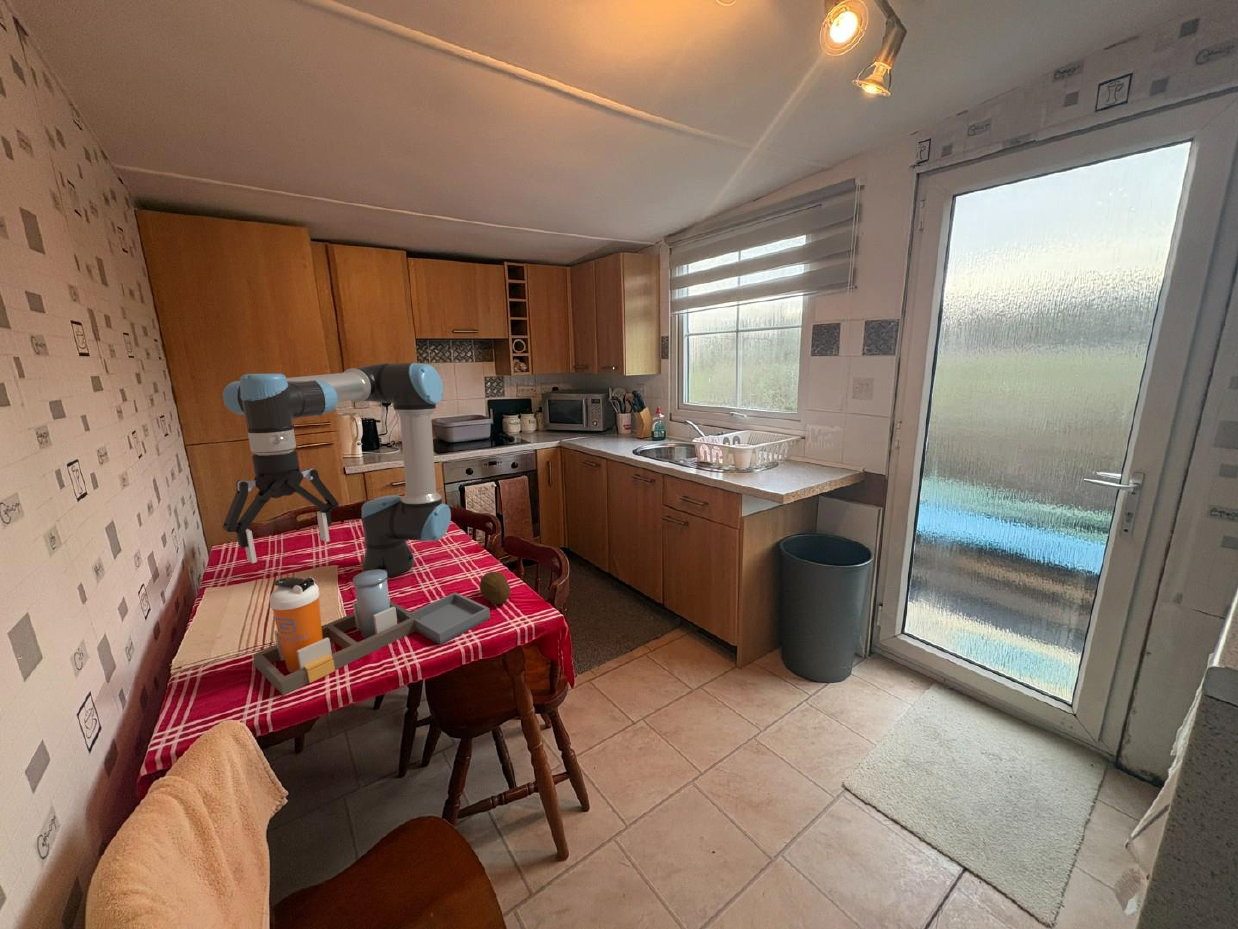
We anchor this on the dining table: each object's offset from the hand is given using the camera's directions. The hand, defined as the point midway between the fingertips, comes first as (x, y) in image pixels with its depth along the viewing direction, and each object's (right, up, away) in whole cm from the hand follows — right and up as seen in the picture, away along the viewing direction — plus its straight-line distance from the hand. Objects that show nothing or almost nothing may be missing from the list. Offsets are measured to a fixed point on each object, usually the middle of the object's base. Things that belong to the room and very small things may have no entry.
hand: (290, 550), depth 101 cm
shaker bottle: (-1, -26, +6) cm, 27 cm away
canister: (+9, -23, +18) cm, 31 cm away
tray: (+26, -22, +22) cm, 41 cm away
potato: (+34, -20, +34) cm, 52 cm away
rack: (+4, -25, +12) cm, 28 cm away
